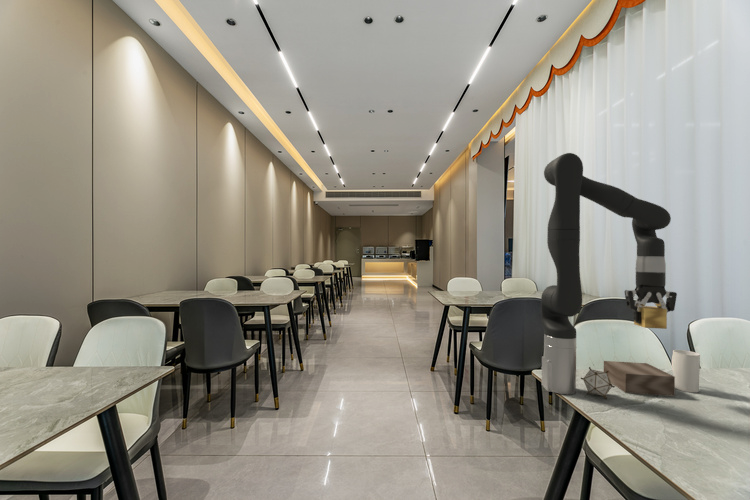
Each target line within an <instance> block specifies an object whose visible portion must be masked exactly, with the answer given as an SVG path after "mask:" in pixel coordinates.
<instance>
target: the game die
mask: <svg viewBox="0 0 750 500" xmlns="http://www.w3.org/2000/svg"><path fill="white" fill-rule="evenodd" d="M608 372H609V370H608V371H606V372H604V371H601V370H595V369H593V368H591V366H588V372H587V373H586V374H585V376H584V377H580V380H583V383H584V385H585V388H586V390H587V392H586V395H589V394H593V395H598V396H602V397H604V399H606V400H607V399H608V398H607V395H608V393H609V392H610V390H611V389H612V388H615V387H616V386H615V385H613V384H612V383H611V382H610V379H609V377H608V374H607V373H608Z"/></svg>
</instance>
